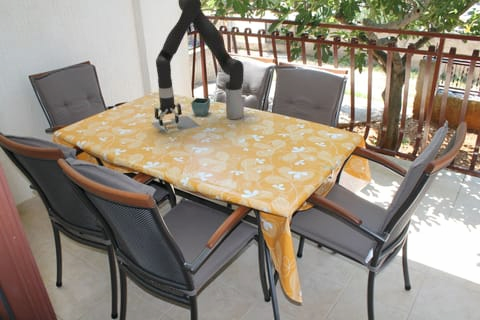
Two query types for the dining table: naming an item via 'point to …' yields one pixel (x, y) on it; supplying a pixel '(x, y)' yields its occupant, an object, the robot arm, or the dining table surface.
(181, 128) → the mat
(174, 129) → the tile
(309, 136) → the dining table surface
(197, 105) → the flower pot
